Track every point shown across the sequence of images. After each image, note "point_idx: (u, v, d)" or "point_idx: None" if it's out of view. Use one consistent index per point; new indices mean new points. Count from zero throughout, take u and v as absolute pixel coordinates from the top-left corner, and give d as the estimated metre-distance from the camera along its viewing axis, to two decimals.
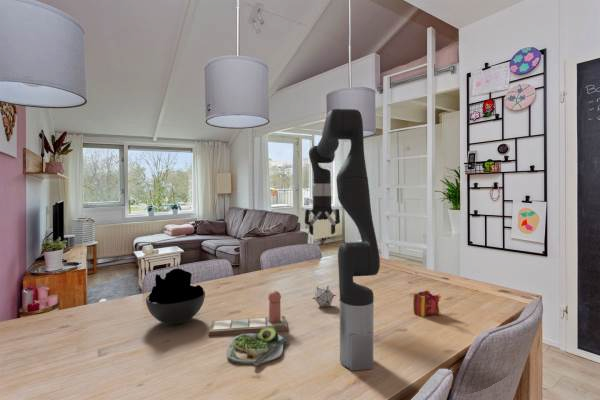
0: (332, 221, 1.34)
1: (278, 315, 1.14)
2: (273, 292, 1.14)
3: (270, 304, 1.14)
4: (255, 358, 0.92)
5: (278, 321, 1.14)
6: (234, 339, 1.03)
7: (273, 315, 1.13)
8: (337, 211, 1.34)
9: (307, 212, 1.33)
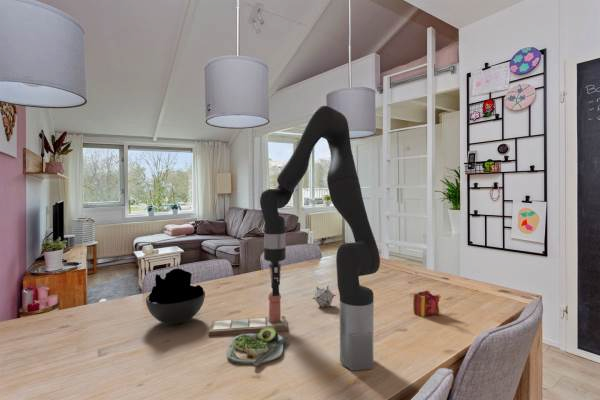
0: None
1: (278, 315, 1.14)
2: None
3: (270, 304, 1.14)
4: (255, 358, 0.92)
5: (278, 321, 1.14)
6: (234, 339, 1.03)
7: (273, 315, 1.13)
8: None
9: (279, 270, 1.09)
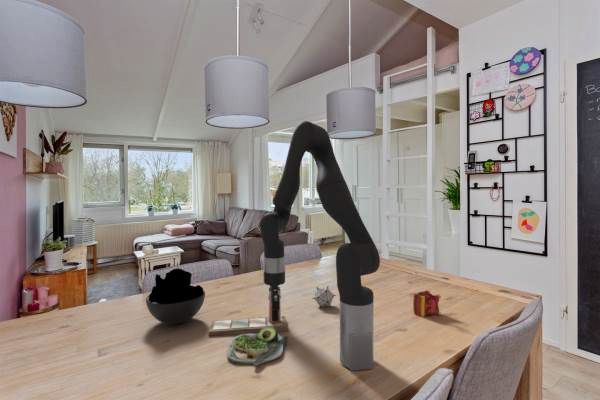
0: None
1: (278, 315, 1.14)
2: None
3: (270, 304, 1.14)
4: (255, 358, 0.92)
5: (278, 321, 1.14)
6: (234, 339, 1.03)
7: None
8: None
9: (279, 298, 1.09)
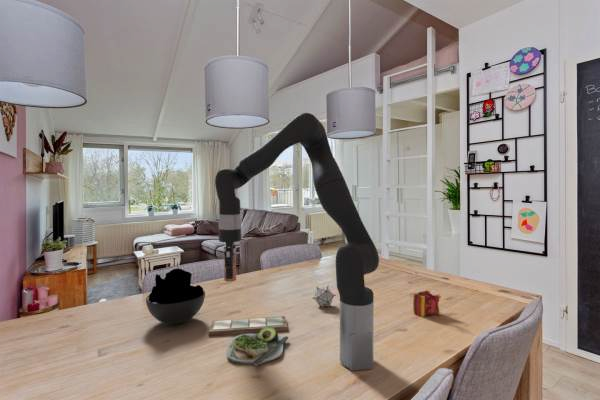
0: None
1: (233, 273, 1.12)
2: None
3: None
4: (255, 358, 0.92)
5: (233, 279, 1.12)
6: (234, 339, 1.03)
7: None
8: None
9: (232, 254, 1.07)
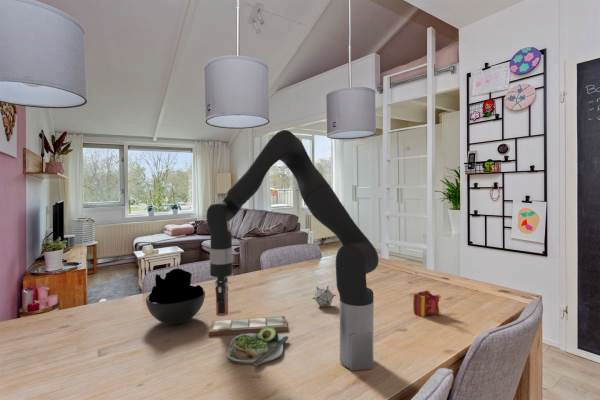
0: None
1: (225, 307, 1.11)
2: None
3: None
4: (255, 358, 0.92)
5: (225, 313, 1.11)
6: (234, 339, 1.03)
7: None
8: (226, 279, 1.18)
9: (223, 289, 1.07)
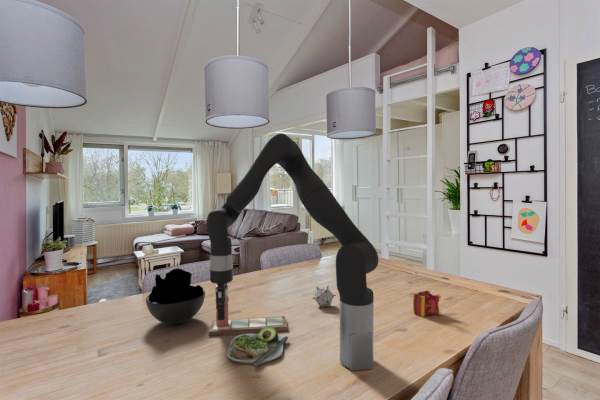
0: None
1: (225, 318, 1.11)
2: None
3: None
4: (255, 358, 0.92)
5: (225, 325, 1.11)
6: (234, 339, 1.03)
7: None
8: (226, 283, 1.19)
9: (223, 294, 1.06)
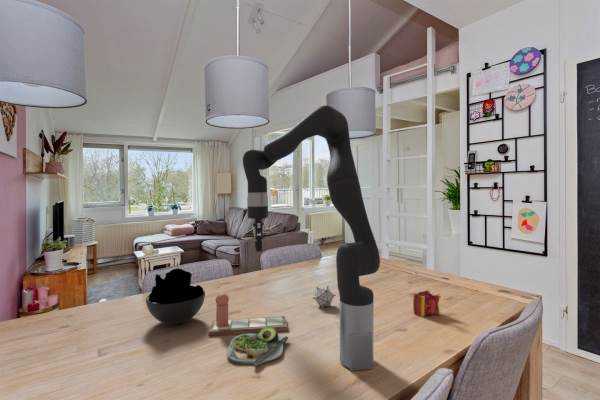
0: None
1: (225, 318, 1.11)
2: (220, 294, 1.12)
3: (217, 307, 1.11)
4: (255, 358, 0.92)
5: (225, 324, 1.11)
6: (234, 339, 1.03)
7: (220, 318, 1.11)
8: None
9: (262, 225, 1.14)
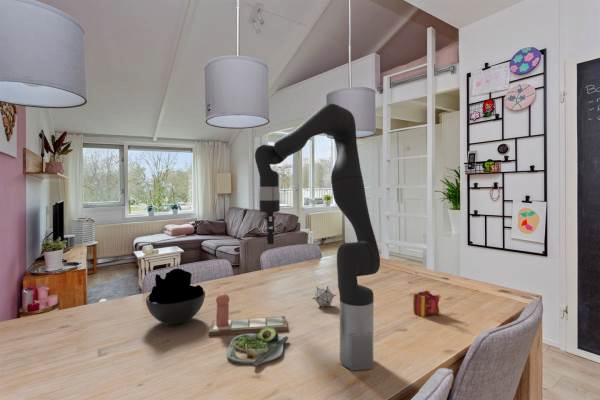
0: None
1: (225, 318, 1.11)
2: (221, 295, 1.11)
3: (217, 307, 1.11)
4: (255, 358, 0.92)
5: (225, 325, 1.11)
6: (234, 339, 1.03)
7: (220, 318, 1.11)
8: None
9: (273, 219, 1.17)
